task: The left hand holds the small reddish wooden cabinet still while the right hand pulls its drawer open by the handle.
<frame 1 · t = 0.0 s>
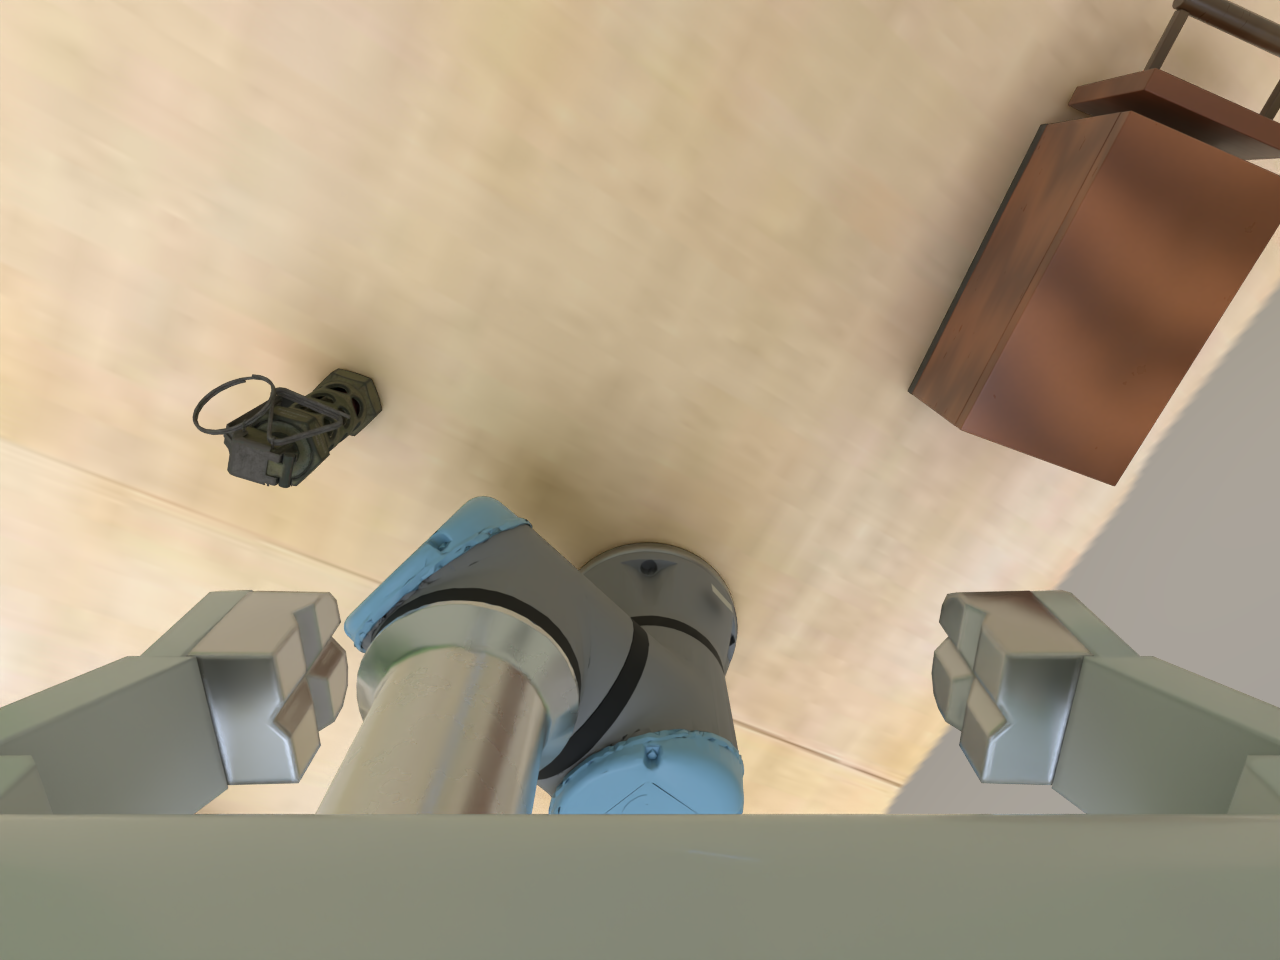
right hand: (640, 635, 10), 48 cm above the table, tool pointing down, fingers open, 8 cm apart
cabinet: (1040, 293, 56), on the table
drawer: (1125, 217, 49), point 5 cm above the table, slide at 1.4 cm
grenade: (340, 385, 58), on the table
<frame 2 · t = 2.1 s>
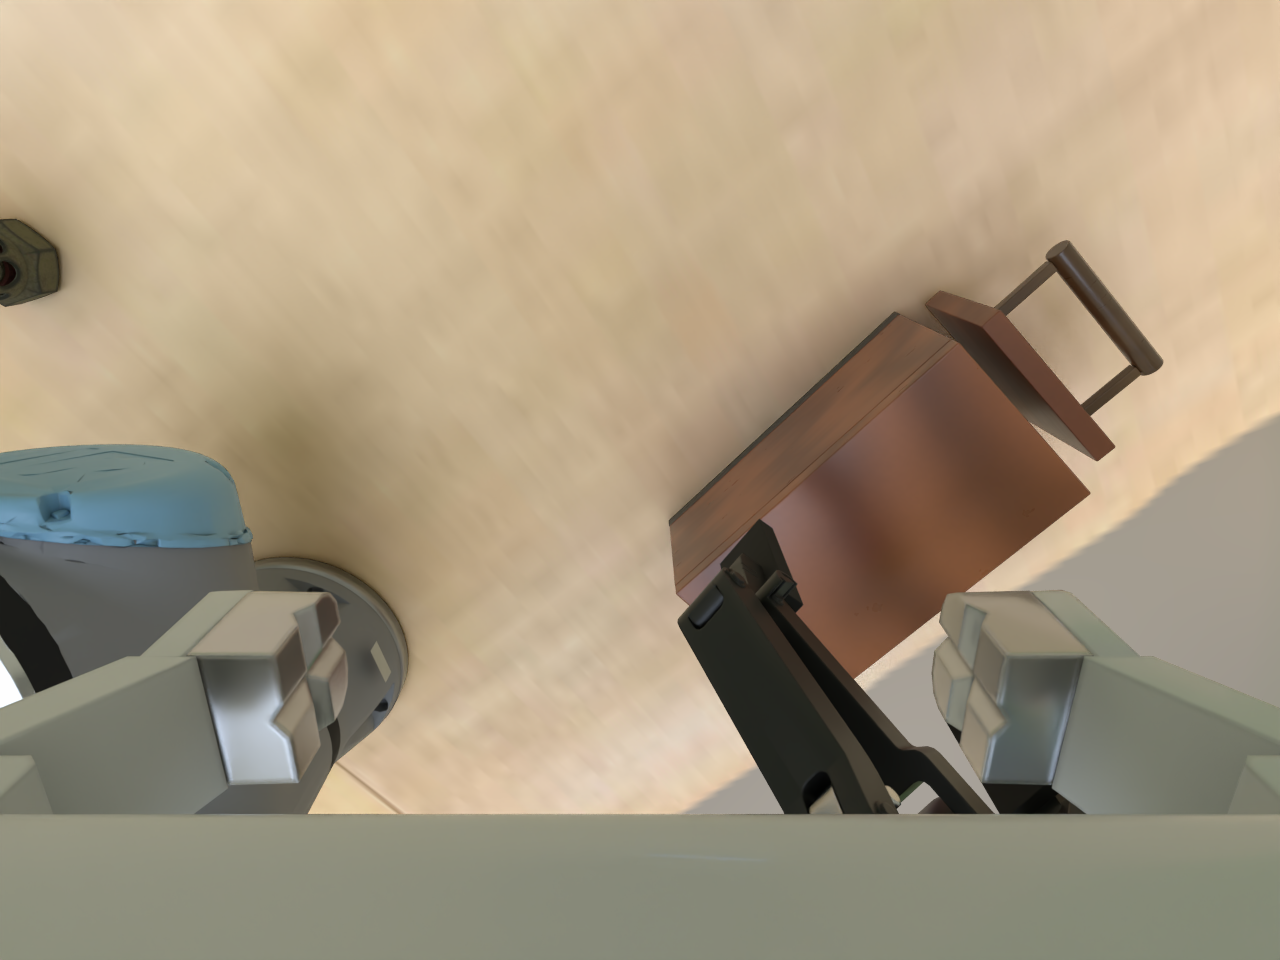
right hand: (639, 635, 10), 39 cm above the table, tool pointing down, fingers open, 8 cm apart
cabinet: (833, 479, 51), on the table
drawer: (929, 443, 45), point 5 cm above the table, slide at 1.4 cm
grenade: (14, 240, 45), on the table
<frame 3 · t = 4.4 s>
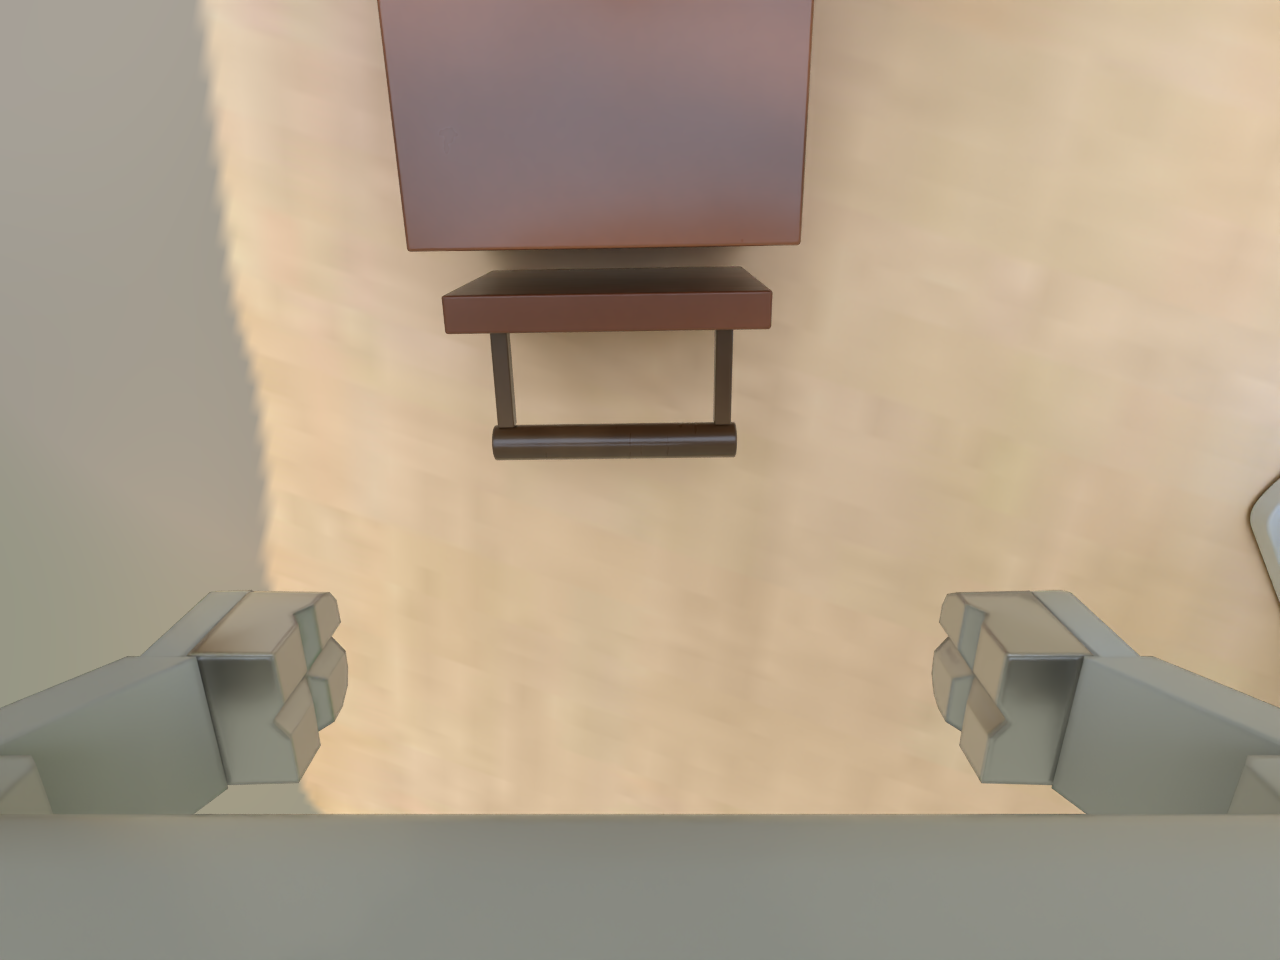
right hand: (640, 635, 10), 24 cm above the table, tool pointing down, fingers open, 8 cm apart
drawer: (607, 112, 25), point 5 cm above the table, slide at 1.4 cm
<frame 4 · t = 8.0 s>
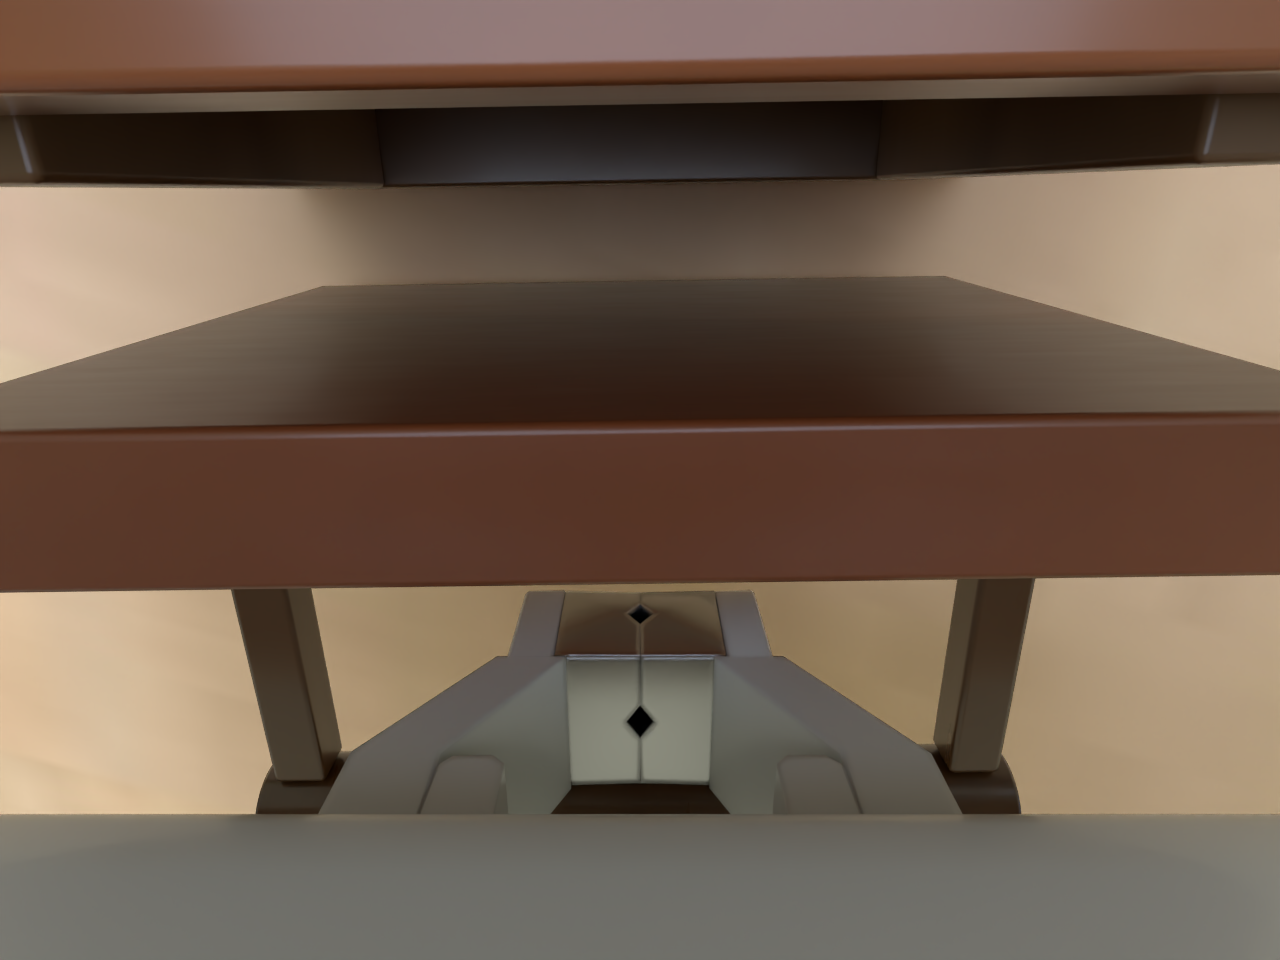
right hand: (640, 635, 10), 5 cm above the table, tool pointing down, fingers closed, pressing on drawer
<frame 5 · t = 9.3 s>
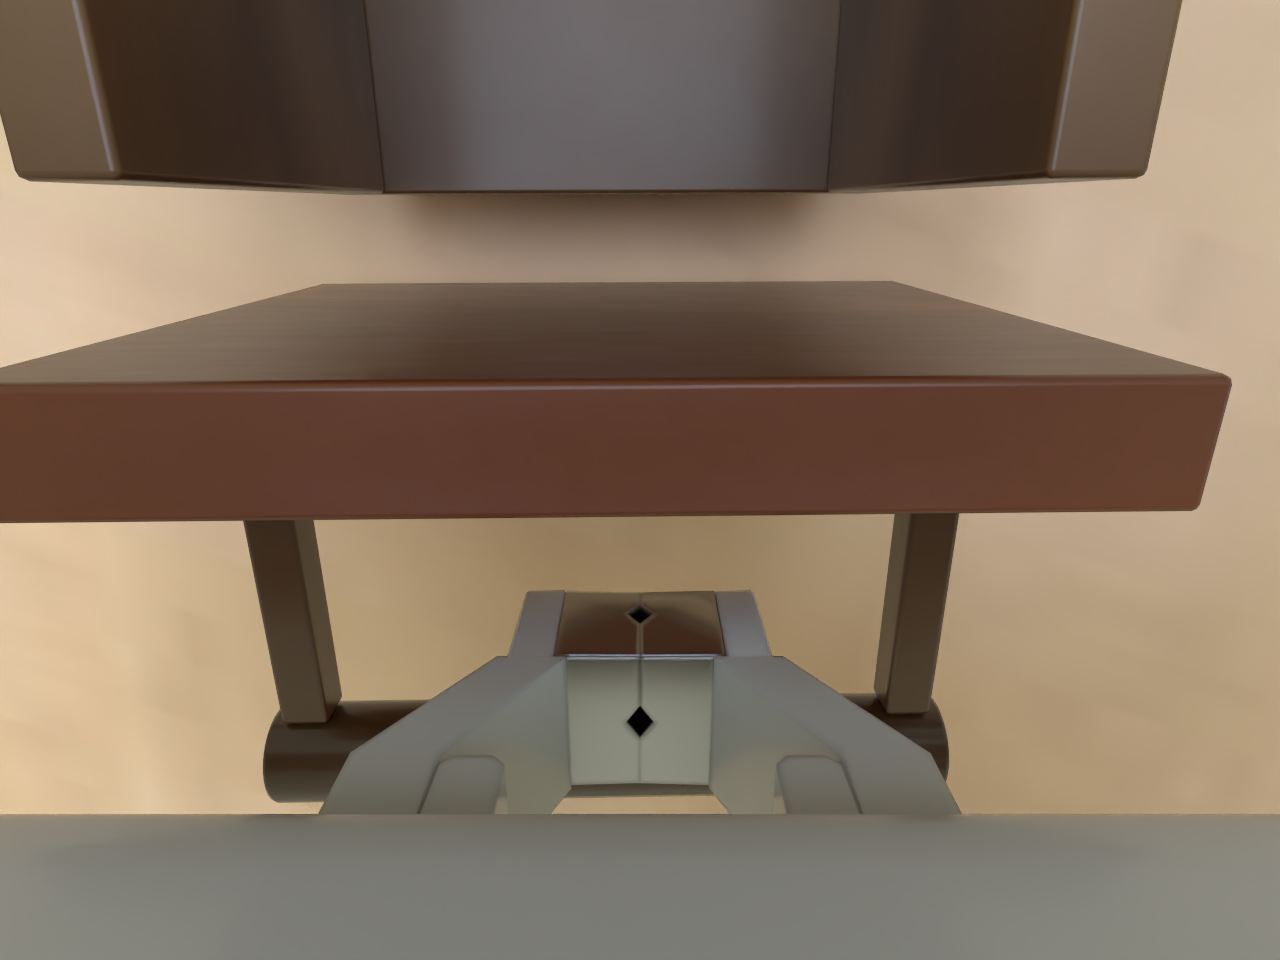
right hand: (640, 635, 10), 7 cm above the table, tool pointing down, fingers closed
when the left hand's fingers open (6 cm above the table, at t = 10.8 s): cabinet stays where it is, on the table.
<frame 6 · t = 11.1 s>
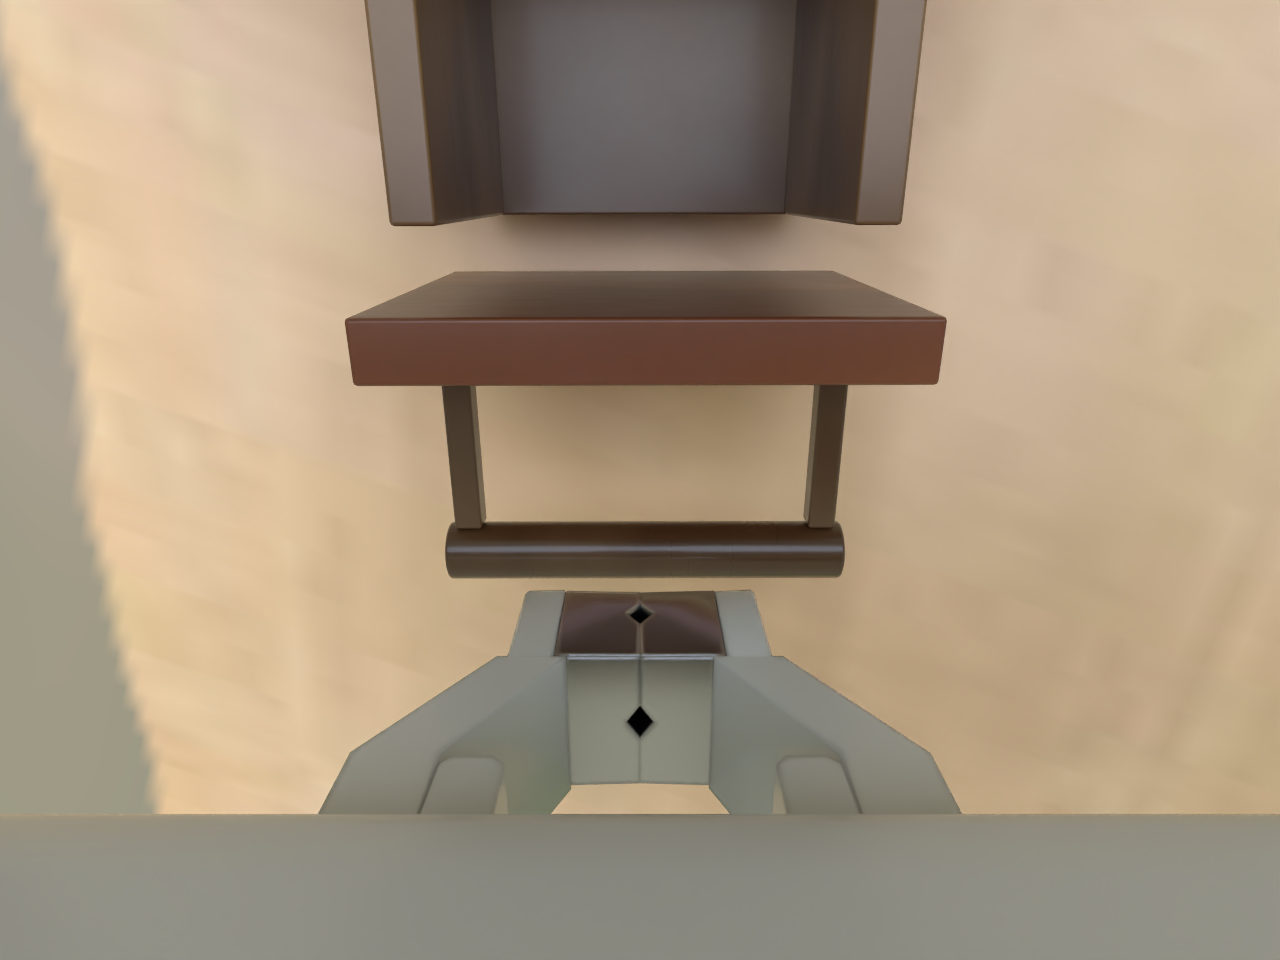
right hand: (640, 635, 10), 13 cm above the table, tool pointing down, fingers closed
drawer: (644, 2, 15), point 5 cm above the table, slide at 7.7 cm
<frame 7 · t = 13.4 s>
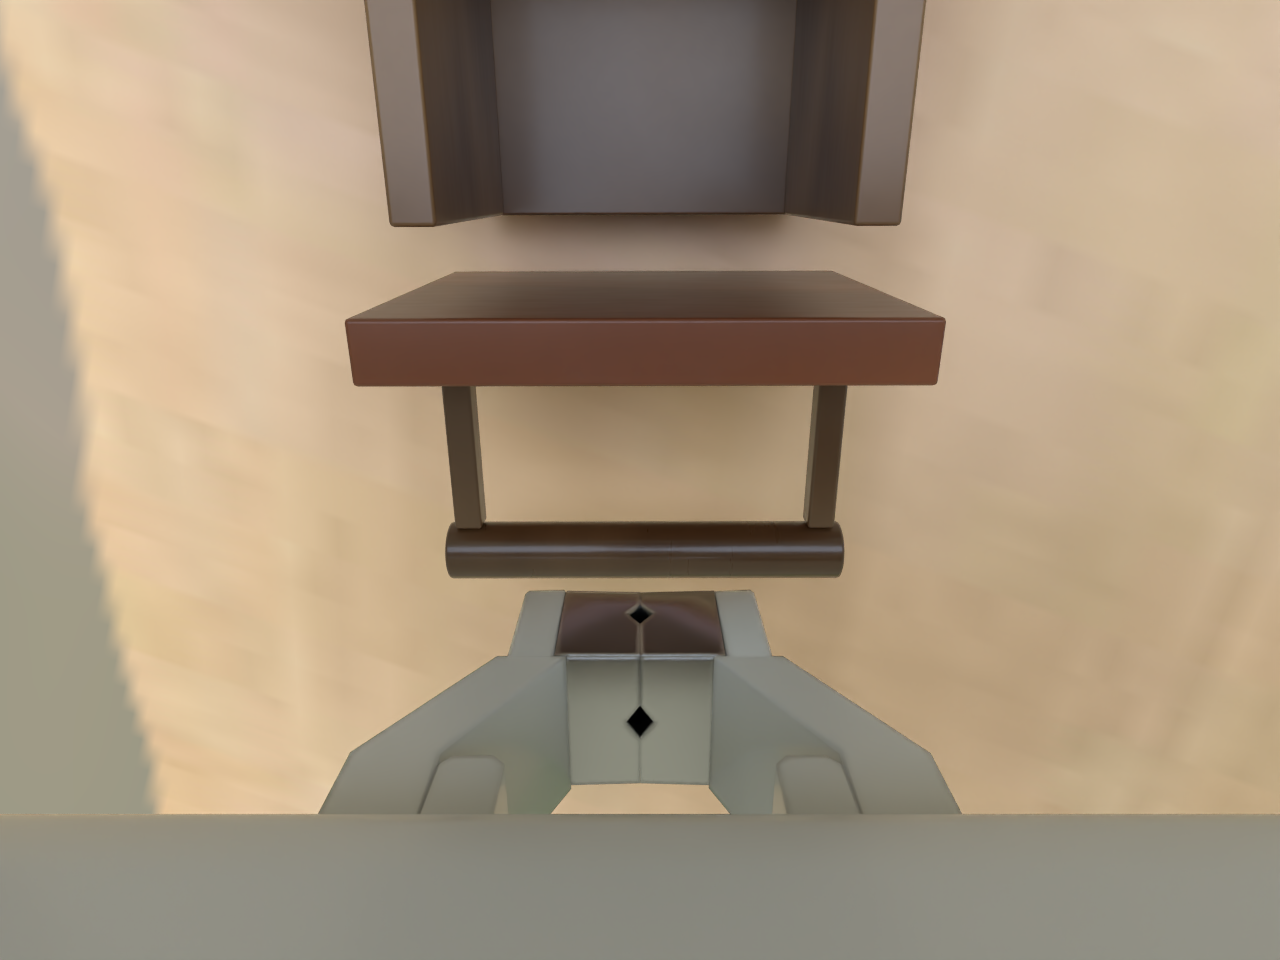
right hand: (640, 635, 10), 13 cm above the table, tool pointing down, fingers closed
drawer: (644, 3, 15), point 5 cm above the table, slide at 7.7 cm
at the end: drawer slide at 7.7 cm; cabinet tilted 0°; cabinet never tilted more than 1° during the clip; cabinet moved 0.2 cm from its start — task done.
